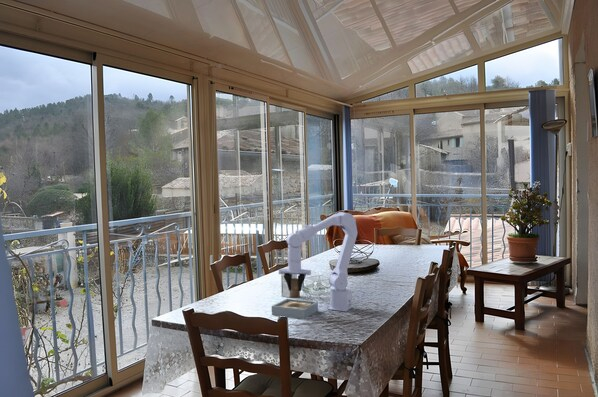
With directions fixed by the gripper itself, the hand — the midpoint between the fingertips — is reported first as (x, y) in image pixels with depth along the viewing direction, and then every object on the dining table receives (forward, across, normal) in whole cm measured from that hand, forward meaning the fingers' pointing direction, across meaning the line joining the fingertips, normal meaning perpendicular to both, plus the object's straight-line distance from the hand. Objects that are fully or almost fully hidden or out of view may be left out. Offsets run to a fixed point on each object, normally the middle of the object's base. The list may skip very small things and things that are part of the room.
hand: (295, 290), depth 223 cm
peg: (+3, 0, 0) cm, 3 cm away
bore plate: (+10, 0, +1) cm, 10 cm away
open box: (+10, 0, +1) cm, 10 cm away
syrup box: (+10, +12, -28) cm, 32 cm away
